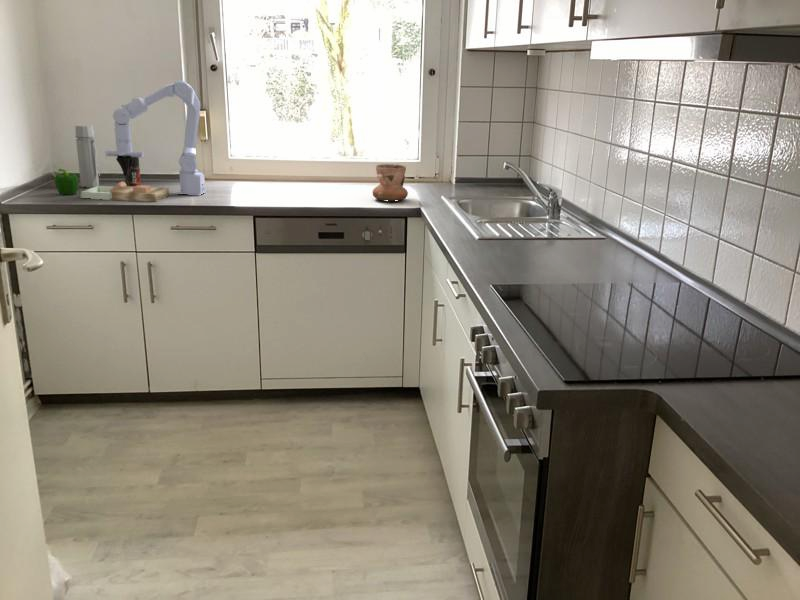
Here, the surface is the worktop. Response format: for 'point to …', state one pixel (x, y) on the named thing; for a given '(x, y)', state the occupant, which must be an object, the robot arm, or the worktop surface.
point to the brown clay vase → (390, 182)
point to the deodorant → (133, 174)
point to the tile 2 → (141, 189)
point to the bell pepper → (66, 183)
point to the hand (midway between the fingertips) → (126, 175)
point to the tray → (97, 193)
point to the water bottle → (87, 156)
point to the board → (140, 194)
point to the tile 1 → (118, 186)
